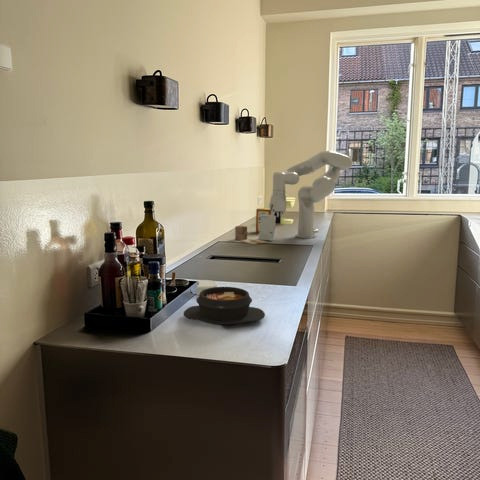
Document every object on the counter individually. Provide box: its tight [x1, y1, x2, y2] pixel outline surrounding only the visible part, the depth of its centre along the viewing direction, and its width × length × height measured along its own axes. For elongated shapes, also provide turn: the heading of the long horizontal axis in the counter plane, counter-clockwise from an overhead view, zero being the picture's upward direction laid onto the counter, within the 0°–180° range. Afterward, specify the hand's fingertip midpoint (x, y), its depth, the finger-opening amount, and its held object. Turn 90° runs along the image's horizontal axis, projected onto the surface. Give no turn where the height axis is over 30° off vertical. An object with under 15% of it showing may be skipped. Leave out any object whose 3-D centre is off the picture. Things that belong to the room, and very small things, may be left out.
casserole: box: [182, 286, 266, 326], centre depth 142 cm, size 25×19×8 cm
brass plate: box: [238, 238, 269, 245], centre depth 272 cm, size 12×12×1 cm
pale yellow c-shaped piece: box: [268, 196, 296, 225], centre depth 352 cm, size 30×16×18 cm, turn 167°
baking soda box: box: [255, 207, 273, 234], centre depth 304 cm, size 10×6×16 cm
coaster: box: [196, 279, 218, 296], centre depth 170 cm, size 10×10×4 cm
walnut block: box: [234, 225, 248, 241], centre depth 277 cm, size 5×5×8 cm
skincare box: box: [258, 214, 276, 241], centre depth 277 cm, size 8×6×15 cm
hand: (277, 223), depth 282 cm, fingers closed
